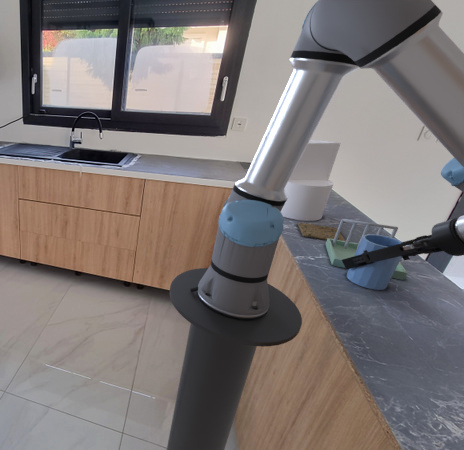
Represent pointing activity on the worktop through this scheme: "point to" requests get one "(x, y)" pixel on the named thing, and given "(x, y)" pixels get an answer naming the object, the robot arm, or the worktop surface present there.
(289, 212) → the white rounded block
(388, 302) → the worktop surface
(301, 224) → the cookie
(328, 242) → the dish rack
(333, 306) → the worktop surface
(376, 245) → the tumbler
